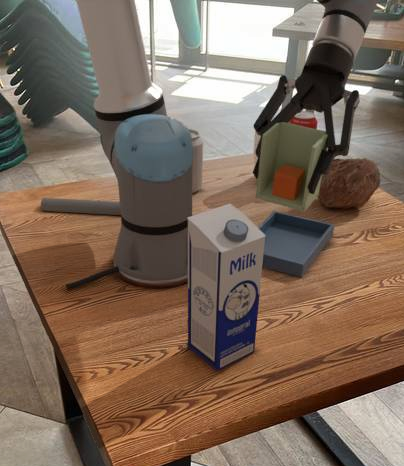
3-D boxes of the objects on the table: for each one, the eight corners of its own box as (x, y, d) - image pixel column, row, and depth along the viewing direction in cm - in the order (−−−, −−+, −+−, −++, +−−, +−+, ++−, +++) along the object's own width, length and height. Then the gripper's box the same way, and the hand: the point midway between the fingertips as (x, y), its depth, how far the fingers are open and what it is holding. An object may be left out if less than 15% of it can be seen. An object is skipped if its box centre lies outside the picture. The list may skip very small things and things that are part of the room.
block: (280, 185, 101) (283, 163, 98) (302, 191, 99) (305, 169, 97) (271, 195, 98) (274, 172, 95) (293, 201, 97) (297, 178, 94)
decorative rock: (376, 198, 123) (387, 151, 117) (372, 220, 115) (383, 171, 108) (315, 190, 126) (322, 144, 120) (307, 210, 118) (314, 162, 111)
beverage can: (310, 162, 139) (317, 110, 131) (311, 172, 134) (319, 119, 126) (284, 161, 139) (290, 109, 132) (284, 171, 134) (290, 117, 127)
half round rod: (136, 216, 114) (135, 208, 113) (40, 211, 115) (38, 202, 114) (139, 207, 117) (139, 199, 116) (46, 202, 118) (45, 194, 117)
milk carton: (224, 329, 85) (231, 201, 72) (255, 351, 81) (267, 220, 68) (186, 347, 81) (186, 216, 69) (216, 371, 77) (222, 236, 65)
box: (271, 182, 103) (279, 120, 96) (318, 194, 100) (330, 132, 93) (255, 198, 99) (262, 134, 91) (304, 211, 96) (315, 147, 88)
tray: (301, 277, 97) (303, 264, 95) (236, 260, 101) (237, 247, 100) (332, 236, 109) (334, 224, 107) (272, 222, 113) (274, 210, 111)
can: (186, 179, 129) (186, 124, 122) (209, 189, 125) (210, 133, 118) (161, 187, 125) (159, 131, 118) (183, 198, 121) (183, 141, 114)
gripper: (397, 79, 94) (347, 208, 95) (276, 56, 101) (230, 176, 102) (398, 52, 87) (344, 191, 88) (267, 29, 94) (218, 158, 95)
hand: (283, 183), depth 95 cm, fingers closed on box, 9 cm apart
